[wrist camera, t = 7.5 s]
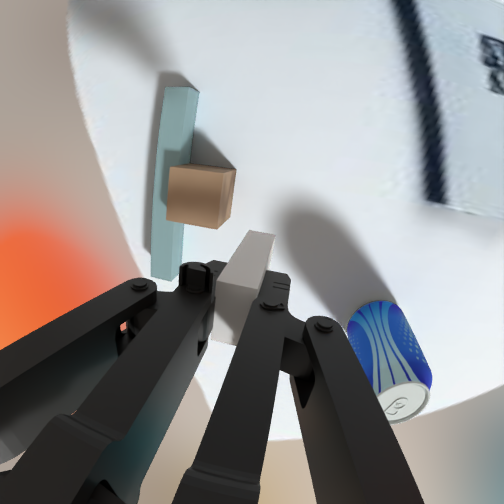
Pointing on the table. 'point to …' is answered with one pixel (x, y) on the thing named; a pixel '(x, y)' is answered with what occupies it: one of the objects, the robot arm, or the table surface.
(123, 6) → the table surface
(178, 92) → the board
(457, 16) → the table surface
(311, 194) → the table surface
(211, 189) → the block
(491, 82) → the table surface
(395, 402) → the beer can
